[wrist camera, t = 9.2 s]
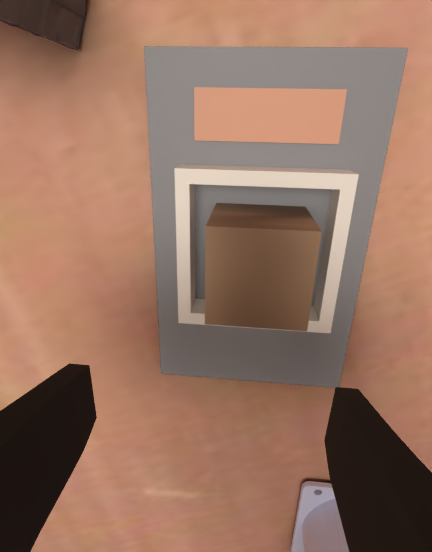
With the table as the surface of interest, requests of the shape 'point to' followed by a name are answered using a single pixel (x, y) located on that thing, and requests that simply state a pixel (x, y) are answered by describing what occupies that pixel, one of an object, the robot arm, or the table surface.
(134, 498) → the table surface
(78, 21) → the vhs cassette tape
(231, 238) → the walnut block
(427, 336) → the table surface
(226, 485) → the table surface
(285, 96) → the pocket board
